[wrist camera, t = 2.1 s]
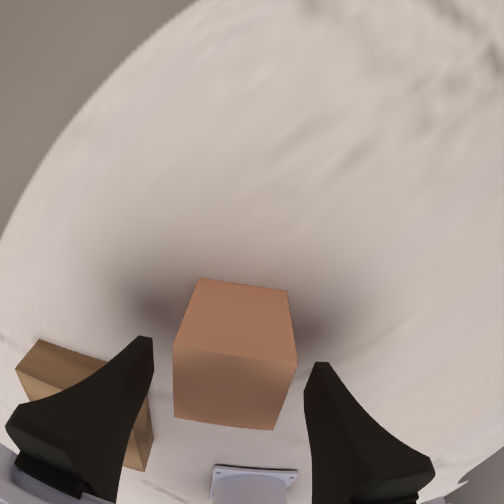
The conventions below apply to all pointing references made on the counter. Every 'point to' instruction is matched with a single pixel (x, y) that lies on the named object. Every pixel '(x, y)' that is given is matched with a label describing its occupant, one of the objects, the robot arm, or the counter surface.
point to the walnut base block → (70, 373)
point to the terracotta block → (234, 355)
